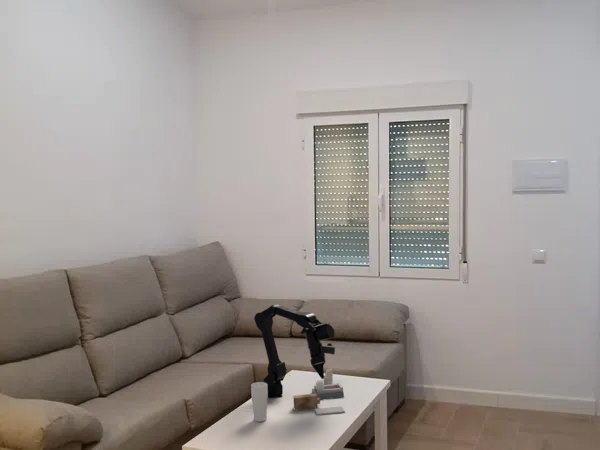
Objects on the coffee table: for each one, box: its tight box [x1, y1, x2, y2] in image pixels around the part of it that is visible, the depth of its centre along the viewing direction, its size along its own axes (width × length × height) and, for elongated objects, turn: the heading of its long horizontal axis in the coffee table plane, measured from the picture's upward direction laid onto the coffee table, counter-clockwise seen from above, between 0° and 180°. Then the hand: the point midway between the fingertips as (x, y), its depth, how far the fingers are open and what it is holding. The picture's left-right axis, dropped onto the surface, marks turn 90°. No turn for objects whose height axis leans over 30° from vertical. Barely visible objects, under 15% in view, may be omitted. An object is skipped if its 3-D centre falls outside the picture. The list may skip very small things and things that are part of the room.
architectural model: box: [322, 368, 334, 385], centre depth 299 cm, size 3×7×7 cm, turn 152°
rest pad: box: [313, 406, 346, 416], centre depth 260 cm, size 12×6×1 cm, turn 100°
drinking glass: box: [250, 381, 268, 423], centre depth 253 cm, size 7×7×15 cm
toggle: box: [315, 379, 324, 390], centre depth 281 cm, size 3×4×4 cm
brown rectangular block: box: [293, 393, 321, 411], centre depth 266 cm, size 11×3×6 cm, turn 100°
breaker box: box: [311, 382, 345, 400], centre depth 282 cm, size 13×9×4 cm
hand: (322, 376), depth 267 cm, fingers open, 9 cm apart
